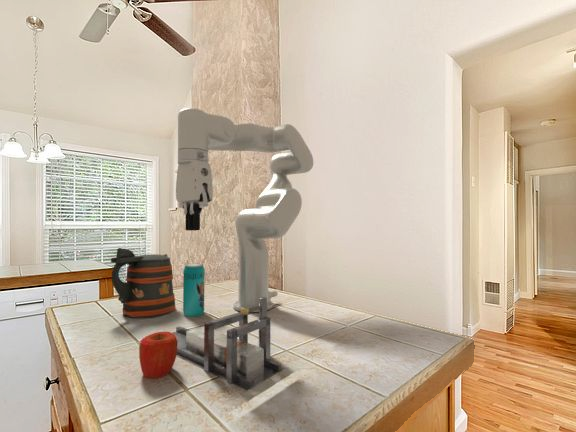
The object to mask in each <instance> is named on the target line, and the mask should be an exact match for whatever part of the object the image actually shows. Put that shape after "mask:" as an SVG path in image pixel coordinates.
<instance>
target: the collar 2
mask: <svg viewBox="0 0 576 432" xmlns="http://www.w3.org/2000/svg"><path fill="white" fill-rule="evenodd" d="M260 328H261V348H263V349H264V359H269V360H271V317H269V316H267V317H264V318H261V319H259V318H258V319H255V320H252V321H250V322H249V321H248V323H246V324H244V325H241V326H239V325H238V326H236V327H233V328H229V329H227V330H226V335H227V378H226V380H225V381H226V382H227V383H229V384H231V385H232V384H233V382H235V381H236V375H237V339H238V338H239V337H240V336H242V335H245V334H247V333H248V334H249V333H252V332H254V331H259V329H260Z"/></svg>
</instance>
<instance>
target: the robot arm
mask: <svg viewBox="0 0 576 432" xmlns="http://www.w3.org/2000/svg"><path fill="white" fill-rule="evenodd" d="M209 151H215V152H216V151H218V152H219V151H220V152H221V151H224V152H225V151H227V152H228V151H229V152H231V151H232V152H259V153H268V154H269V153H277V154H275V155H273V156H272V157H271V159H270V162H269V167H270V168H269V169H270V176H271V180H270V183H268V185H267V186H266V187H265V188H264V190H263V191H262V192H261V193H260V194H259V196H258V197H257V199H256V201H255V207H250V208H245V209H243V210H241V211H240V212H239V213H237V216H236V218H235V230H236V235H237V243H238V244H237V245H238V301H235V302H234V303H233V309H234V311H237V312H241V308H248V307H252V306H255V305H258V304H259V298H260V297H267V311H270V310H271V309H273V308H274V302H273V300H272V301H271V299H272V298H276V297H277V296H278V292H277V290H273V291H270V290H269V249H268V245H267V243H266V241H265V239H279V238H282V237H284V236H285V235H286V234H287V233H288V231H289V230H290V229H291V226H292V225H293V223H294V222H295V220H296V219H297V218H298V216H299V215H300V212H301V210H302V205H303V204H302V203H303V199H302V195H301V194H300V192H299V190H298V189H296V188H293V185H292V183H291V181H290V179H289V178H288V176H289V175H298V174H306V173H309V172H310V171H311V170H312V169H313V167H314V157H313V154H312V152H311V150H310V149H309V146H308V145H307V143H306V142H305V140H304V138H303V136H302V135H301V133H300V132H299V131H298V129H297V128H296V127H294V126H293V125H292V124H289V123H287V124H282V125H278V126H277V125H276V126H265V125H259V124H255V123H246V122H245V123H238V124H235V123H234V121H232V119H230V118H228V117H226V116H223V115H217V114H211V113H207V112H205V111H203V110H201V109H199V108H192V107H187V108H182V109H181V110H180V111H179V112H178V114H177V170H176V178H175V179H176V181H175V200H176V201H177V202H178V206H179V208H180V209H183V213H184V215H185V231H200V229H201V215H202V212H203V209H204V208H206V207H208V204H209V203H211V202H212V201H213V199H214V195H213V193H214V190H213V189H214V187H213V186H214V185H213V176H212V174H213V173H212V169H211V164H210V163H209ZM251 313H259V310H255V311H252V312H251Z"/></svg>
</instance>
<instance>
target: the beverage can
mask: <svg viewBox="0 0 576 432" xmlns="http://www.w3.org/2000/svg"><path fill="white" fill-rule="evenodd" d="M182 275H183V277H182V278H183V279H182V280H183V282H182V284H183V288H182V289H183V290H182V291H183V293H182V294H183V295H182V296H183V297H182V299H183V300H182V312H183V315H184V316H185V317H193V318H194V317H199V316H202V315H203V314H204V312H205V268H204V263H197V262H195V263H187V264H186V263H185V264H184V269H183V274H182Z"/></svg>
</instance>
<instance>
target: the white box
mask: <svg viewBox="0 0 576 432" xmlns="http://www.w3.org/2000/svg"><path fill="white" fill-rule="evenodd" d="M188 330H189V331H186V350H188V351H191V352H193V353H195V354H197V355H200V356H202V357H204V326H200V327H196V328H192V329H188ZM214 362H215V363H218V364H220V365H222V366H224V367H227V334H225V333H222V332H220V331H217V330H216V329H214ZM237 372H238V373H240V374H242V375H244V376H247V377H249V378H251V379H252V378H254V377H256V376H258V375H260V374H262V373H263V372H264V349H263V348H260V347H259V346H257V345H254V344H252V343H250V342H248V343H247V342H245V341H241V340H239V338H237Z"/></svg>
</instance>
